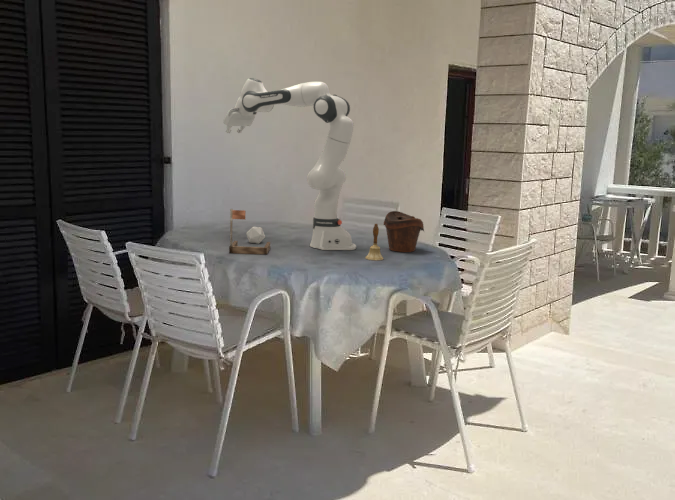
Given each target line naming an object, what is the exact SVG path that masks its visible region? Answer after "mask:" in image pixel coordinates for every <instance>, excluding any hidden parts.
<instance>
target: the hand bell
mask: <svg viewBox="0 0 675 500" xmlns="http://www.w3.org/2000/svg"><path fill="white" fill-rule="evenodd" d="M379 231H380V230H379V226H378V223H374V225H373V228H372V235H373V244H372V245H371V246H370V247H369V251H368V254H367V255H366V256H365V257H364V258H365V260H369V261H383V260H384V257H383V255H382V253H381V247H380V246H378V237H379Z"/></svg>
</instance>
